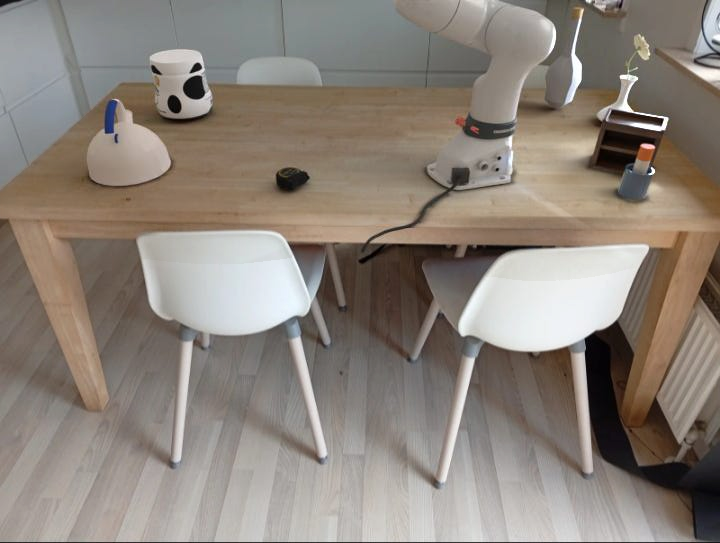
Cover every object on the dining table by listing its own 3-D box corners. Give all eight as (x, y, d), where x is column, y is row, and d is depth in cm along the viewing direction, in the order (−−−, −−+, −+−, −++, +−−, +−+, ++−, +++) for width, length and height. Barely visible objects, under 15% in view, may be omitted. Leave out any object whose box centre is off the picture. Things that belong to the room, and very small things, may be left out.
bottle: (576, 116, 170) (602, 13, 152) (540, 113, 172) (561, 11, 154) (571, 103, 179) (595, 5, 161) (537, 101, 180) (556, 3, 162)
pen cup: (632, 204, 125) (642, 177, 121) (611, 193, 130) (619, 166, 126) (650, 198, 128) (660, 171, 124) (629, 187, 132) (638, 161, 128)
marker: (632, 197, 127) (648, 150, 120) (622, 192, 129) (637, 145, 122) (641, 194, 128) (658, 147, 121) (631, 189, 130) (646, 142, 123)
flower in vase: (636, 132, 160) (665, 43, 145) (596, 127, 163) (619, 39, 148) (633, 116, 170) (660, 32, 155) (595, 112, 173) (617, 29, 158)
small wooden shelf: (647, 180, 135) (664, 130, 127) (589, 168, 141) (602, 119, 133) (651, 166, 141) (668, 117, 133) (595, 155, 147) (609, 107, 139)
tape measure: (291, 195, 129) (290, 181, 127) (270, 187, 132) (269, 173, 130) (310, 184, 133) (309, 171, 131) (289, 177, 137) (288, 163, 135)
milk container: (149, 113, 172) (135, 55, 161) (198, 101, 181) (187, 45, 171) (174, 129, 162) (161, 68, 151) (225, 115, 171) (215, 56, 160)
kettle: (175, 149, 150) (160, 84, 140) (166, 183, 134) (149, 112, 123) (99, 154, 148) (78, 88, 137) (81, 190, 131) (55, 118, 120)
